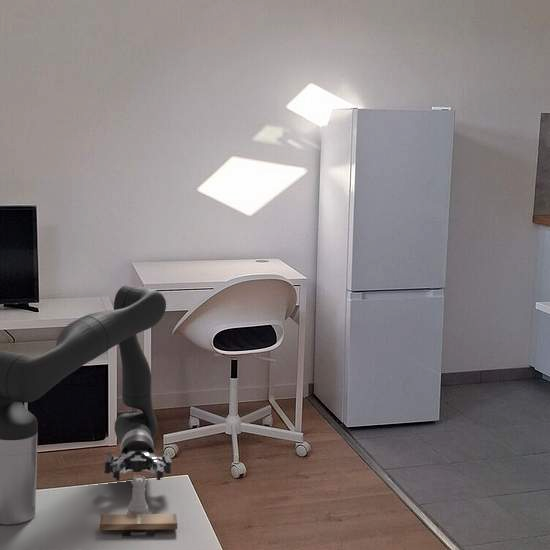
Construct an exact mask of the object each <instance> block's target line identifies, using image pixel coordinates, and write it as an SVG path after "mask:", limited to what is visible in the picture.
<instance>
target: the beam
mask: <svg viewBox="0 0 550 550" xmlns="http://www.w3.org/2000/svg"><path fill="white" fill-rule="evenodd" d="M98 527H99V528H98V529H99V531H123V530H152V529H154V530H178V518H177V513H148V514H127V513H126V514H125V513H124V514H123V513H122V514H121V513H119V514H115V513H114V514H111V513H109V514H100V515H99V526H98Z"/></svg>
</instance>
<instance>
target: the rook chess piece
mask: <svg viewBox="0 0 550 550" xmlns="http://www.w3.org/2000/svg"><path fill="white" fill-rule="evenodd" d="M146 479H147V478H146V477H145V476H144V475H134V476H132V480H131V482H130V483H131V485H132V488H131V490H132V494H131V500H130V502H129V505H128V506H127V507H126V509H127V511H126V514H150V513H149V512H150V511H149V505H148V504H147V502H146V495H145V494H146V493H145V491H146V485H147V484H148V481H147V480H146Z"/></svg>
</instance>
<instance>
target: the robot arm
mask: <svg viewBox="0 0 550 550" xmlns="http://www.w3.org/2000/svg"><path fill="white" fill-rule="evenodd" d="M166 308H167V301H166V299H165V297H164V295H163V294H162V293H161V292H160V291H158V290H155V289H152V288H148V287H143V286H138V285H129V284H125V285H122V286H121V287H120V288H119V289H118V290H117V292H116V294H115V297H114V301H113V309H111V310H103V311H98V312H93V313H88V314H86V315H84V316H81V317H80V318H78V319H76V320H73V321H72V322H70V323H69V324H68V325H65V327H64V328H63V329H62V330H61V331H60V333H59V335H58V336H57V339H56V343H55V346H54V347H52V348H51V349H49V350H47V351H45V352H42V353H40V354H36V355H29V354H24V353H19V352H13V351H7V350H4V351H0V525H8V526H9V525H17V524H23V523H26V522H28V521H30V520H32V519H33V518H34V517H35V516H36V504H37V503H36V501H37V499H36V497H37V470H38V469H37V465H38V462H37V460H38V434H39V433H38V430H39V425H38V424H39V423H38V419H37V417H36V416H35V415H34V414H33V413H31V411H29V410H28V409H27V408H26V407H25V406H24V404H23V403H32V402H34V401H37V400H39V399H41V398H42V397H43V396H44V395H46V394H47V392H49V391H50V390H51V389H52V388H53V387H55V386H56V385H57V384H59V383H60V382H61V381H62V380H64V379H65V378H66V377H68V376H69V375H70V374H72V373H74V372H75V371H77V370H78V369H80V368H82V367H83V366H84V365H86V364H89V363H90V362H91V361H93V360H95V359H96V358H99V357H100V356H101V355H103V354H105V353H106V352H108V351H109V350H111V349H112V348H113V347H116V346H117V345H118V347H119V354H120V359H121V360H120V361H121V372H122V373H121V374H122V375H121V377H122V380H121V381H122V382H121V385H122V388H121V391H122V394H121V395H122V398H121V399H122V400H121V401H122V403H123V404H124V406H126V407H128V408H132V409H135V410H136V409H137V410H140V411H141V412H124V413H122V414H120V415H118V416H117V418H116V419H115V422H114V433H115V437H116V438H117V440H118V442H119V443H120V454H119V456H114V455H113V453H111V452H108V453H106V457H105V460H104V472H103V473H104V474H110V473H112V478H114V479H115V481H120V474H126V473H128V472H135V473H140V472H144V471H145V472H148V473H150V474H156V480H157V481H160V480H161V479H163V478H164V476H165V475H164V473H165V474H171V473H172V459H171V456H170V453H167V452H166V453H163V455H162V456H157V454H155V448H154V447H155V445H154V441H153V440H154V439H155V438H156V437H157V435H158V432H159V424H158V421H157V417H156V415H155V410H154V408H153V401H152V372H151V371H152V370H151V367H150V365H149V362H148V359H147V358H146V356H145V353H144V351H143V350H142V347H141V345H140V343H139V340H138V337H137V336H138V335H137V334H140V333H142V332H144V331H146V330H149V329H151V328H153V327H154V326H156V325H157V324H158V323H159V322H161V320H162V318H163V317H164V315H165V312H166Z"/></svg>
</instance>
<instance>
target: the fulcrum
mask: <svg viewBox="0 0 550 550" xmlns="http://www.w3.org/2000/svg"><path fill="white" fill-rule="evenodd" d="M124 536H125V537H124ZM131 536H133V537H131ZM134 536H135V537H134ZM122 538H155V529H152V530H122Z"/></svg>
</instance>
